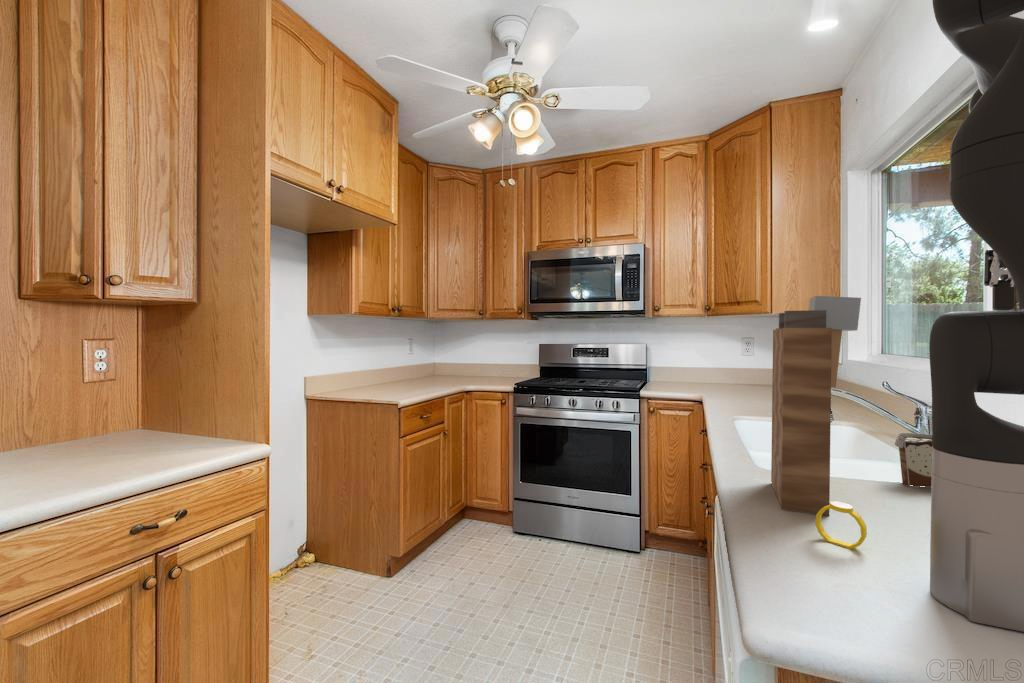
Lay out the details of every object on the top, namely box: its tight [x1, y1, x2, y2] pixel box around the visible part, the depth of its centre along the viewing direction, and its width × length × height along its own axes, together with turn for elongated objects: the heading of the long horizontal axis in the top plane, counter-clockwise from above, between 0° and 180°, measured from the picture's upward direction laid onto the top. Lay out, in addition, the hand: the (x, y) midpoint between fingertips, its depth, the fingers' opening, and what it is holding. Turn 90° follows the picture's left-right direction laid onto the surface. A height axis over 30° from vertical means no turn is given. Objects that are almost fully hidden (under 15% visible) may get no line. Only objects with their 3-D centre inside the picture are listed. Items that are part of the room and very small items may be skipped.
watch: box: [815, 500, 868, 550], centre depth 66 cm, size 6×3×6 cm, turn 38°
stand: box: [770, 309, 832, 517], centre depth 85 cm, size 16×7×35 cm, turn 156°
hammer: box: [808, 295, 862, 388], centre depth 87 cm, size 6×17×7 cm
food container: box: [894, 432, 932, 488], centre depth 95 cm, size 12×6×10 cm, turn 84°
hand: (1018, 305), depth 67 cm, fingers open, 8 cm apart
